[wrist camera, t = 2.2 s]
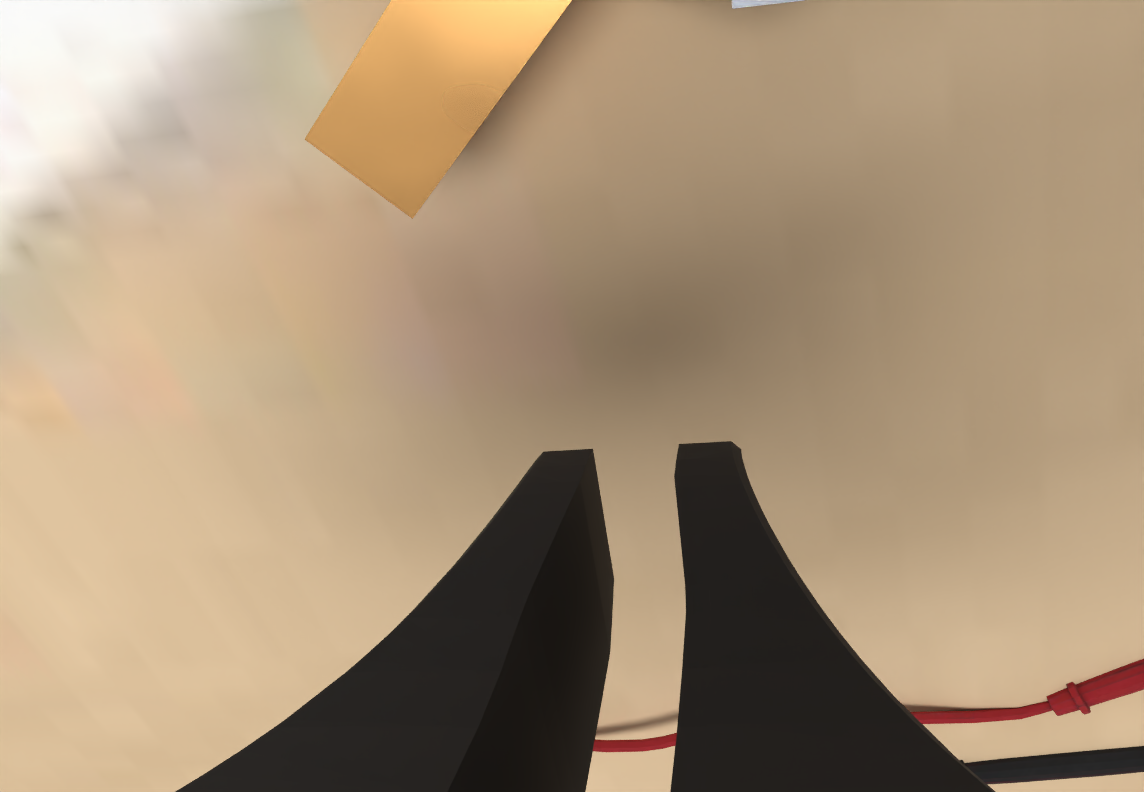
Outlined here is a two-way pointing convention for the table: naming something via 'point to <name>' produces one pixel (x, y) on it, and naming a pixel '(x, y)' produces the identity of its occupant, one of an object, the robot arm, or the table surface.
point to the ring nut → (430, 88)
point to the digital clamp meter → (1018, 768)
